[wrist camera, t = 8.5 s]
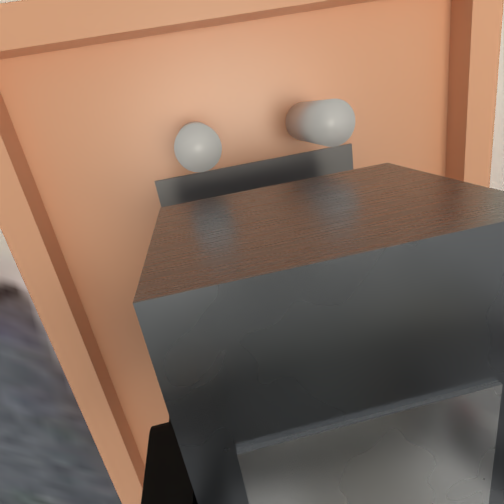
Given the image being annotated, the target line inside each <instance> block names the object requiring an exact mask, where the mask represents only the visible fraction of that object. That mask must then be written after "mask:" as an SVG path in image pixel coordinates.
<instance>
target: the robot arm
mask: <svg viewBox="0 0 504 504" xmlns="http://www.w3.org/2000/svg"><path fill="white" fill-rule="evenodd" d="M141 504H198V503H197V500H196V496H195V493H194V490H193V487H192V484H191V481H190V478H189V475H188V472H187V469H186V466H185V463H184V460H183V456H182V453H181V450H180V447H179V444H178V441H177V438H176V435H175V432H174V429H173V426H172V423H171V420H170V416H169V422H167V423H163V424H159V425H155V426H152V427H151V429H150V432H149V440H148V448H147V456H146V465H145V473H144V482H143V490H142V499H141Z"/></svg>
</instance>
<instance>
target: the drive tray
mask: <svg viewBox="0 0 504 504" xmlns="http://www.w3.org/2000/svg"><path fill="white" fill-rule="evenodd" d="M503 2H504V0H22V1H15V2H8V3H1V4H0V228H1V230H2V232H3V235H4V237H5V239H6V241H7V244H8V246H9V248H10V251H11V253H12V255H13V257H14V260H15V262H16V264H17V266H18V269H19V271H20V273H21V276H22V278H23V280H24V282H25V285H26V287H27V289H28V291H29V294H30V296H31V298H32V301H33V303H34V305H35V307H36V310H37V312H38V314H39V316H40V319H41V321H42V323H43V325H44V328H45V330H46V332H47V335H48V337H49V339H50V341H51V344H52V346H53V348H54V350H55V353H56V355H57V357H58V360H59V362H60V364H61V366H62V369H63V371H64V373H65V375H66V378H67V380H68V382H69V385H70V387H71V389H72V391H73V394H74V396H75V398H76V400H77V403H78V405H79V407H80V409H81V412H82V414H83V416H84V419H85V421H86V423H87V425H88V428H89V430H90V432H91V434H92V437H93V439H94V441H95V444H96V446H97V448H98V450H99V453H100V455H101V457H102V459H103V462H104V464H105V466H106V469H107V471H108V473H109V475H110V478H111V480H112V482H113V484H114V487H115V489H116V491H117V493H118V496H119V498H120V500H121V503H122V504H141V499H142V490H143V482H144V473H145V465H146V456H147V448H148V440H149V432H150V429H151V427H152V426H155V425H159V424H163V423H167V422H169V413H168V410H167V407H166V404H165V401H164V398H163V395H162V392H161V389H160V386H159V383H158V380H157V376H156V373H155V370H154V367H153V364H152V361H151V358H150V355H149V352H148V349H147V346H146V343H145V340H144V336H143V333H142V330H141V327H140V324H139V321H138V318H137V315H136V312H135V309H134V306H133V300H134V297H135V293H136V290H137V286H138V283H139V280H140V276H141V273H142V269H143V266H144V262H145V259H146V255H147V252H148V248H149V245H150V242H151V238H152V235H153V231H154V228H155V224H156V221H157V217H158V214H159V211H160V208H161V207H166V206H171V205H176V204H181V203H186V202H191V201H196V200H201V199H206V198H211V197H216V196H222V195H227V194H232V193H237V192H242V191H247V190H252V189H257V188H262V187H267V186H272V185H277V184H282V183H287V182H292V181H297V180H302V179H307V178H312V177H318V176H323V175H328V174H333V173H338V172H343V171H348V170H353V169H358V168H363V167H368V166H373V165H378V164H383V163H391V164H395V165H399V166H403V167H407V168H411V169H415V170H419V171H423V172H427V173H431V174H435V175H439V176H443V177H448V178H452V179H456V180H460V181H464V182H468V183H472V184H476V185H480V186H484V187H488V188H489V184H490V171H491V158H492V145H493V132H494V119H495V106H496V93H497V80H498V67H499V54H500V41H501V28H502V15H503Z"/></svg>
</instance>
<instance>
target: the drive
mask: <svg viewBox="0 0 504 504" xmlns="http://www.w3.org/2000/svg"><path fill="white" fill-rule="evenodd" d="M133 306H134V309H135V312H136V315H137V318H138V321H139V324H140V327H141V330H142V333H143V336H144V340H145V343H146V346H147V349H148V352H149V355H150V358H151V361H152V364H153V367H154V370H155V373H156V376H157V380H158V383H159V386H160V389H161V392H162V395H163V398H164V401H165V404H166V407H167V410H168V413H169V416H170V420H171V423H172V426H173V429H174V432H175V435H176V438H177V441H178V444H179V447H180V450H181V453H182V456H183V460H184V463H185V466H186V469H187V472H188V475H189V478H190V481H191V484H192V487H193V490H194V493H195V496H196V500H197V503H198V504H504V191H500V190H496V189H492V188H488V187H484V186H480V185H476V184H472V183H468V182H464V181H460V180H456V179H452V178H448V177H443V176H439V175H435V174H431V173H427V172H423V171H419V170H415V169H411V168H407V167H403V166H399V165H395V164H391V163H383V164H378V165H373V166H368V167H363V168H358V169H353V170H348V171H343V172H338V173H333V174H328V175H323V176H318V177H312V178H307V179H302V180H297V181H292V182H287V183H282V184H277V185H272V186H267V187H262V188H257V189H252V190H247V191H242V192H237V193H232V194H227V195H222V196H216V197H211V198H206V199H201V200H196V201H191V202H186V203H181V204H176V205H171V206H166V207H161V208H160V211H159V214H158V217H157V221H156V224H155V228H154V231H153V235H152V238H151V242H150V245H149V248H148V252H147V255H146V259H145V262H144V266H143V269H142V273H141V276H140V280H139V283H138V286H137V290H136V293H135V297H134V300H133Z"/></svg>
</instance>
